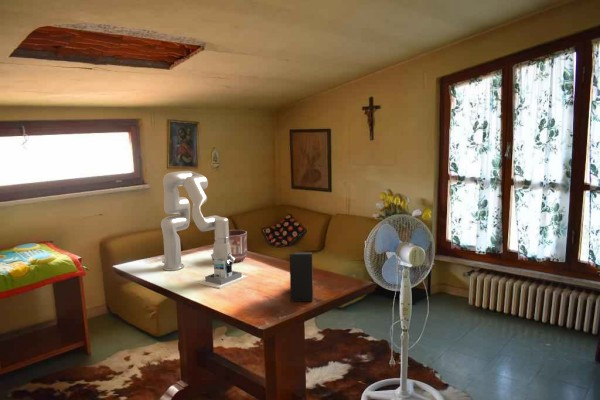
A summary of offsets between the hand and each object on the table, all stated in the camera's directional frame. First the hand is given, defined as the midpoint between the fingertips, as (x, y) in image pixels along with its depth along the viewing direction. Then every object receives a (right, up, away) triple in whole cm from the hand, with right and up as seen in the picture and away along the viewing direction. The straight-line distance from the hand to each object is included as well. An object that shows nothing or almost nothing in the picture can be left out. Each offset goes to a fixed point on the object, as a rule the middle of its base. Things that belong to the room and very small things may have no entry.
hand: (223, 270), depth 248 cm
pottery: (0, 0, +41) cm, 41 cm away
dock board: (0, -5, +1) cm, 5 cm away
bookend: (+43, -8, -21) cm, 49 cm away
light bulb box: (0, -4, +1) cm, 4 cm away
